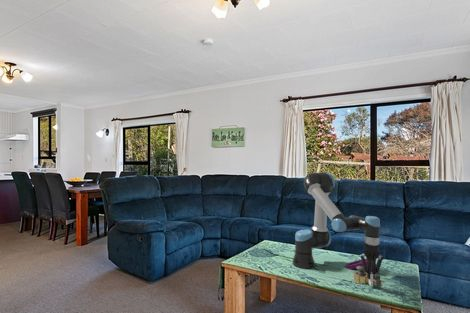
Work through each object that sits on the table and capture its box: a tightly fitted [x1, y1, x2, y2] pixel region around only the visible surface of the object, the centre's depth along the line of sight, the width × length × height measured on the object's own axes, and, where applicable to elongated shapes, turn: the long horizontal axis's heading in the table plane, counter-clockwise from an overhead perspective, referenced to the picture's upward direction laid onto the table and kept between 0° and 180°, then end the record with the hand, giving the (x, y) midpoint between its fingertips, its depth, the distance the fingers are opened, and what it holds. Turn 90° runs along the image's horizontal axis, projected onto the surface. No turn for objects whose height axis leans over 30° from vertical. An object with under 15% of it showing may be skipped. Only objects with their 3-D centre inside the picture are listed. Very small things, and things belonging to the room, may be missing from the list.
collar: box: [353, 270, 382, 287], centre depth 165 cm, size 16×8×5 cm, turn 28°
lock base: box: [356, 266, 384, 285], centre depth 169 cm, size 28×14×9 cm, turn 76°
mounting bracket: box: [345, 257, 376, 273], centre depth 186 cm, size 9×8×18 cm
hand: (370, 284), depth 161 cm, fingers closed
